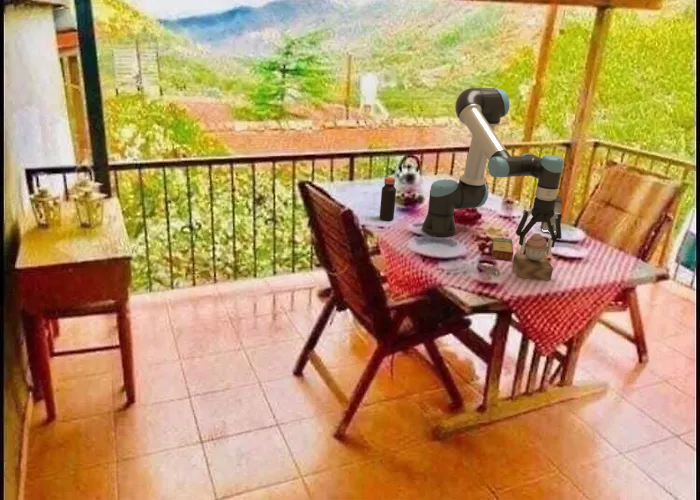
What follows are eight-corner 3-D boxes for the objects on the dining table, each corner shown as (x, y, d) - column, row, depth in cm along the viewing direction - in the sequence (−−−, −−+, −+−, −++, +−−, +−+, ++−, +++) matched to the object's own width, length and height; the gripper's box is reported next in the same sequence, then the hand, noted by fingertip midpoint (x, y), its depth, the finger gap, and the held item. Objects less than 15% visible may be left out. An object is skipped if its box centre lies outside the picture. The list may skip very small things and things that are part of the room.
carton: (491, 259, 232) (492, 249, 231) (491, 245, 247) (492, 236, 245) (512, 261, 231) (513, 252, 229) (511, 248, 245) (512, 238, 244)
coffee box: (540, 226, 273) (546, 194, 267) (553, 228, 272) (560, 196, 266) (542, 232, 265) (548, 200, 259) (556, 234, 264) (563, 201, 258)
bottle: (388, 222, 267) (392, 181, 259) (376, 218, 270) (379, 178, 263) (396, 219, 272) (399, 178, 264) (384, 215, 275) (387, 175, 268)
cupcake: (550, 258, 218) (555, 234, 215) (539, 264, 212) (544, 239, 208) (528, 251, 224) (532, 227, 220) (517, 256, 218) (521, 232, 214)
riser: (518, 277, 215) (520, 265, 213) (512, 265, 226) (514, 253, 224) (550, 280, 215) (553, 268, 213) (542, 267, 226) (545, 256, 224)
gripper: (517, 198, 206) (507, 255, 215) (578, 203, 205) (566, 259, 214) (513, 192, 213) (504, 247, 222) (572, 197, 212) (560, 252, 221)
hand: (534, 253), depth 218 cm, fingers closed on cupcake, 9 cm apart
